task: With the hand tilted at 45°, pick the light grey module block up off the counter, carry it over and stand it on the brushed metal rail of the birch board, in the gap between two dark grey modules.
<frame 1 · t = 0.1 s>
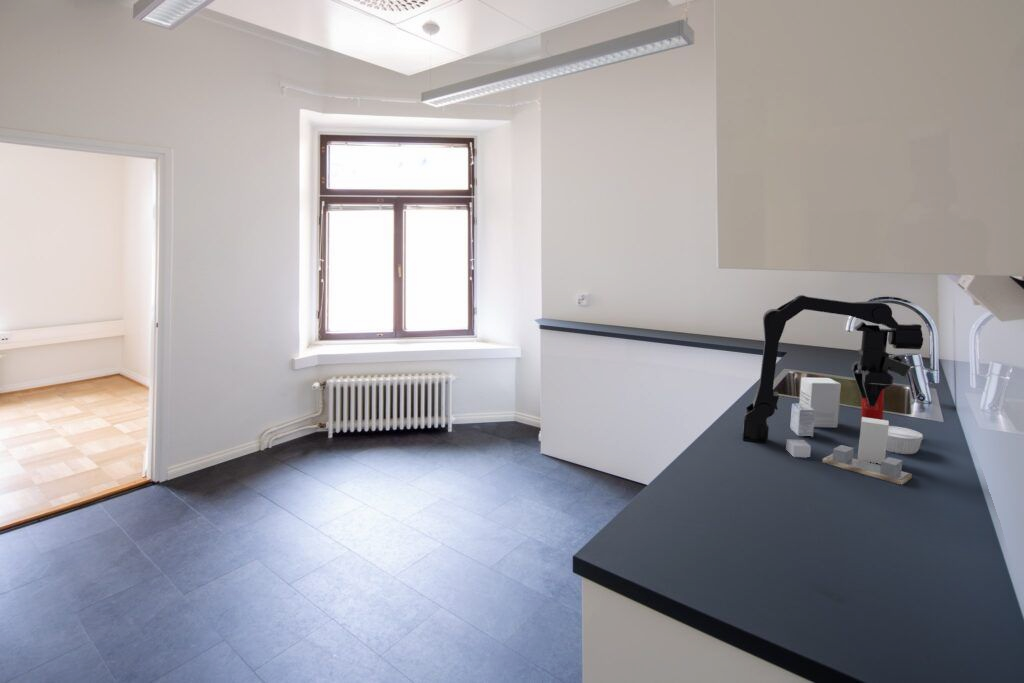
hand: (868, 402, 146), 15 cm above the table, tool pointing down, fingers open, 9 cm apart
supplement box: (816, 424, 174), on the table
beverage can: (869, 429, 168), on the table
rail board: (865, 469, 135), on the table
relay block: (797, 454, 147), on the table
metal rail: (865, 465, 135), on the rail board, point 1 cm above the table
module block: (870, 459, 142), on the table
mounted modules: (866, 459, 135), on the metal rail, point 3 cm above the table
ramekin: (896, 449, 151), on the table
medicine box: (801, 433, 165), on the table
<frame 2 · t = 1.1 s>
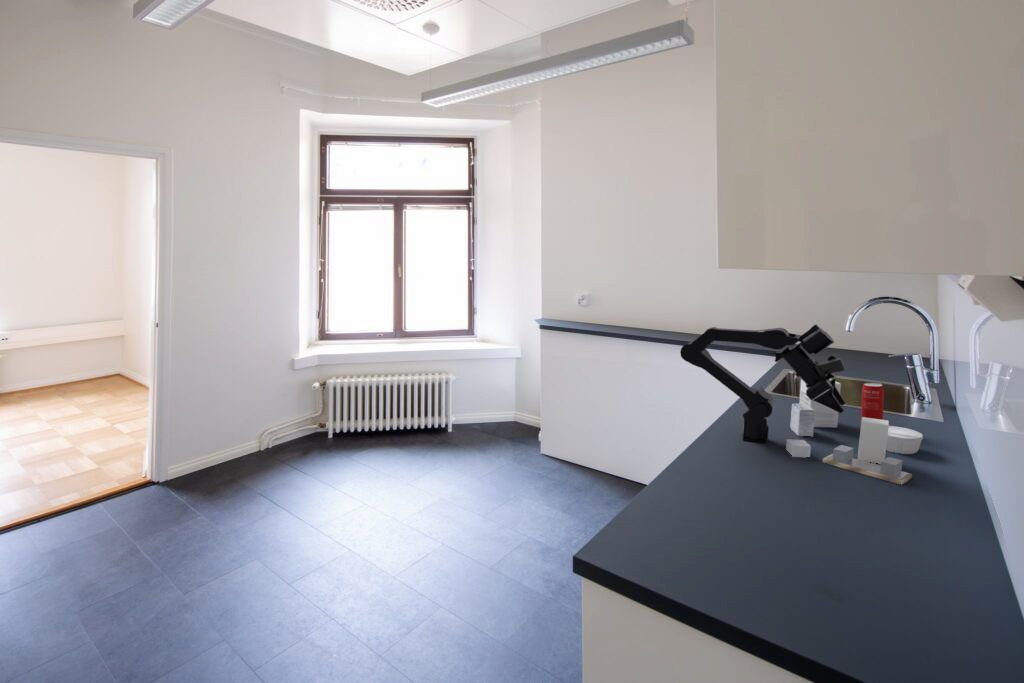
hand: (843, 408, 145), 13 cm above the table, tool tilted 45°, fingers open, 9 cm apart
nothing on the table moved.
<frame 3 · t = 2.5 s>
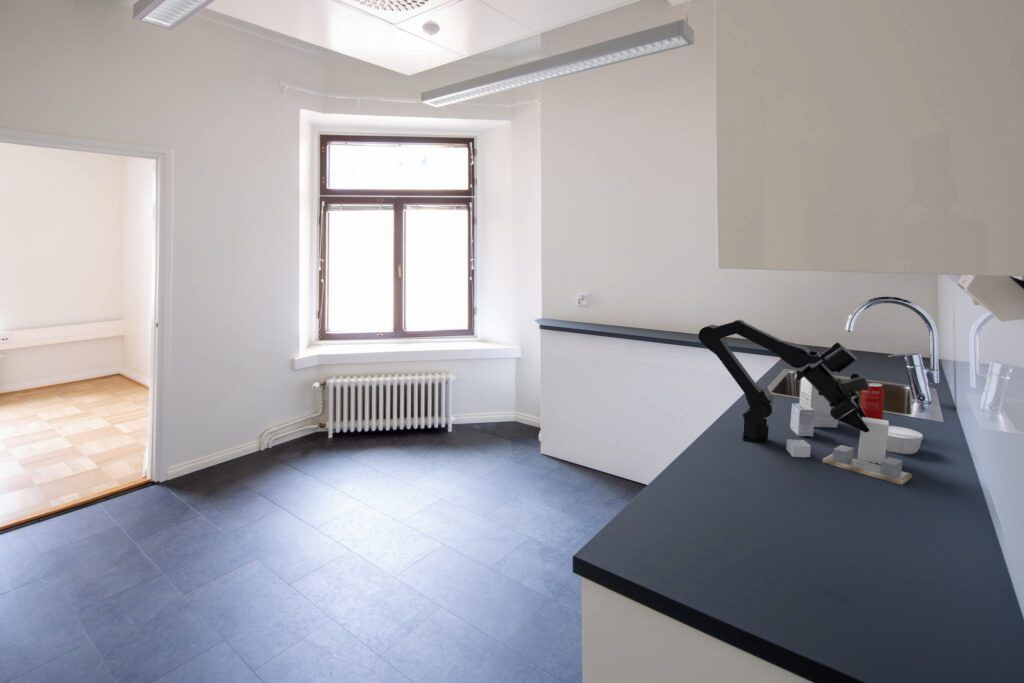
hand: (868, 427, 142), 9 cm above the table, tool tilted 45°, fingers open, 9 cm apart
nothing on the table moved.
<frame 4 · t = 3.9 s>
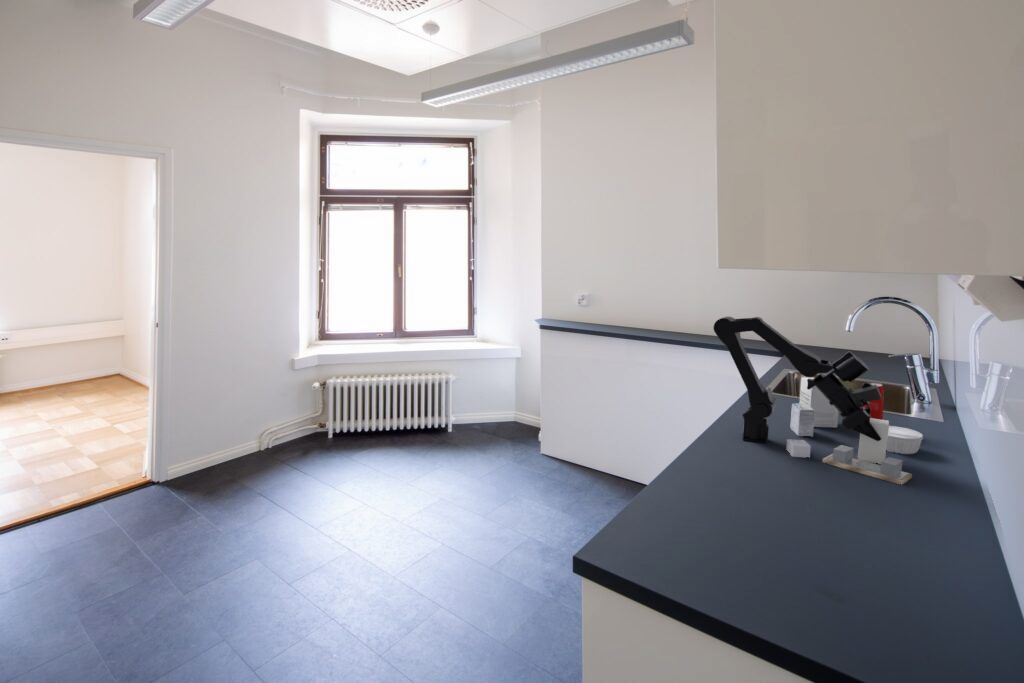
hand: (879, 437, 141), 7 cm above the table, tool tilted 45°, fingers closed on module block, 5 cm apart
module block: (870, 459, 142), on the table, touching gripper
everything else where it was.
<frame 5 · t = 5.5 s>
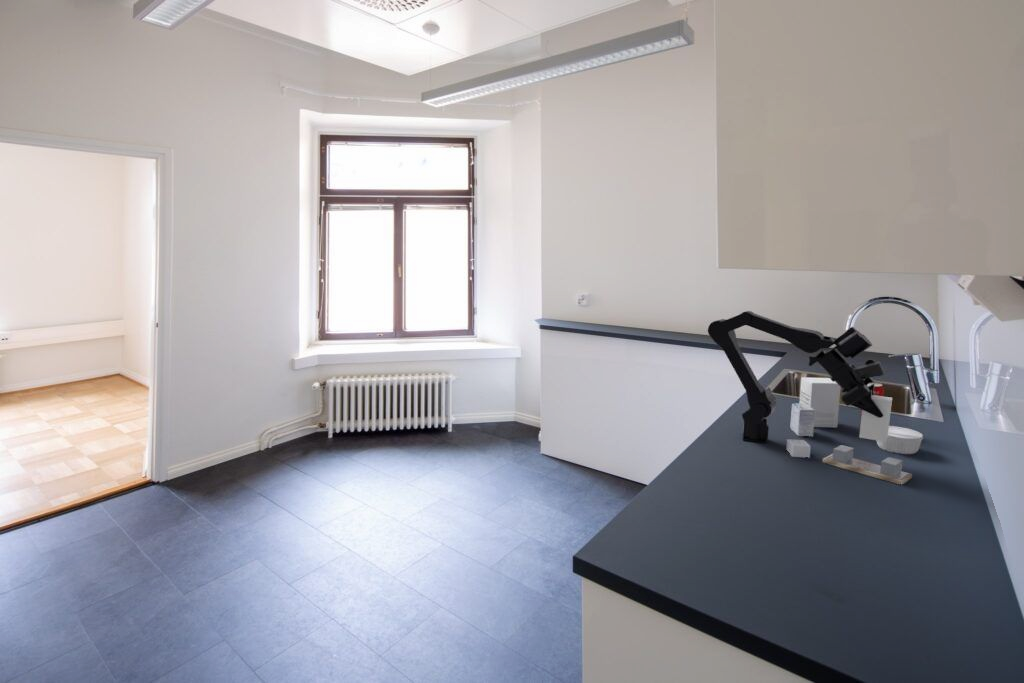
hand: (882, 414, 138), 14 cm above the table, tool tilted 45°, fingers closed on module block, 5 cm apart
module block: (873, 437, 140), point 7 cm above the table, touching gripper
everything else where it was.
when the fingers open (9 cm above the table, at t = 7.5 s): module block drops 1 cm, resting on metal rail.
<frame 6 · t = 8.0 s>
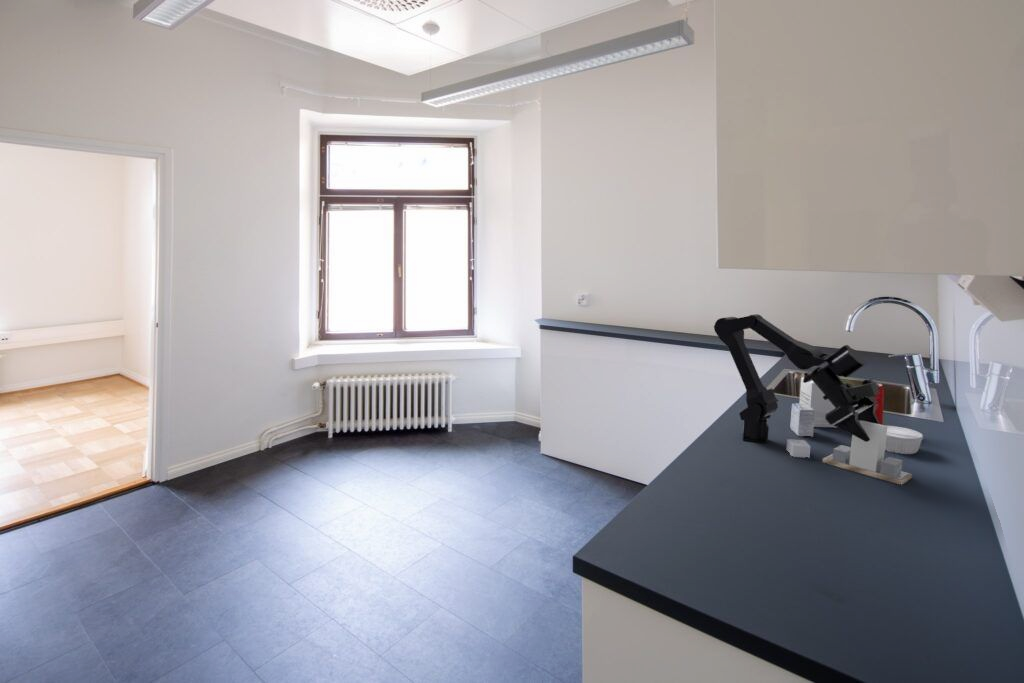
hand: (875, 437, 133), 9 cm above the table, tool tilted 45°, fingers open, 9 cm apart
module block: (865, 465, 135), point 1 cm above the table, touching metal rail
everything else where it was.
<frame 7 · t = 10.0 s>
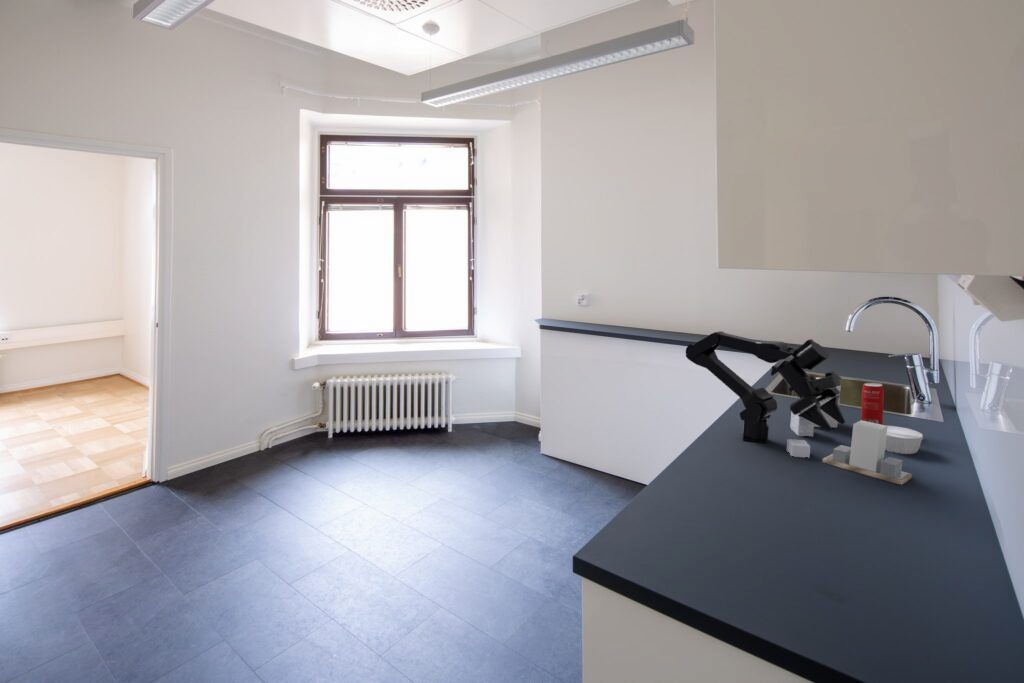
hand: (836, 426, 140), 10 cm above the table, tool tilted 45°, fingers open, 9 cm apart
nothing on the table moved.
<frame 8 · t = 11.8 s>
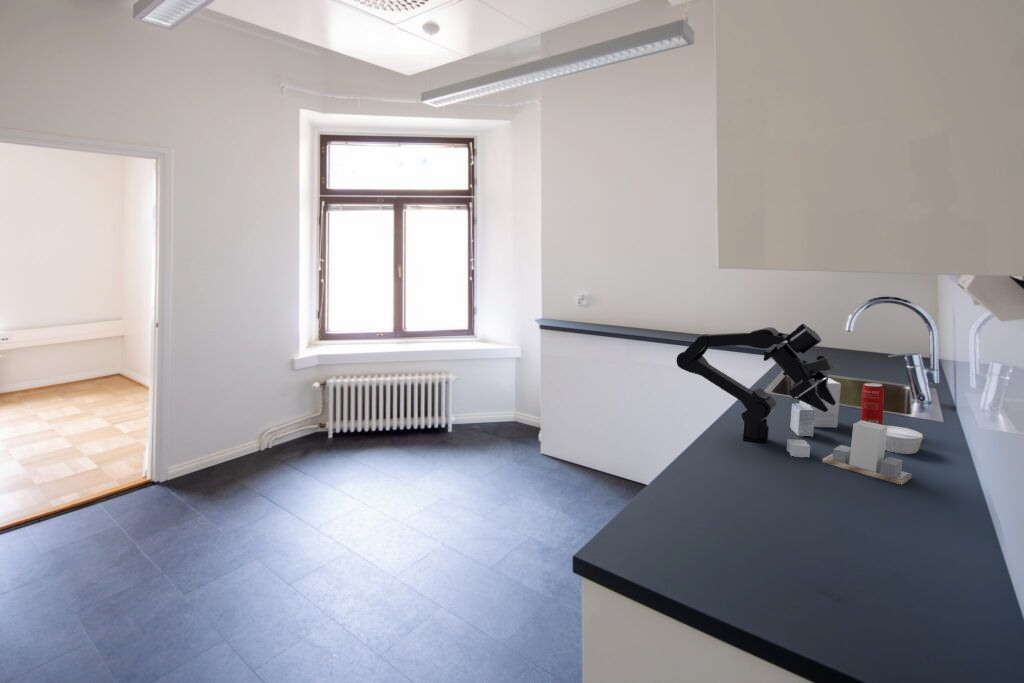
hand: (830, 407, 144), 14 cm above the table, tool tilted 45°, fingers open, 9 cm apart
nothing on the table moved.
at the end: module block 0.0 cm off-centre on the rail board, point 1.2 cm above the rail board's base; module block tilted 0°; the gripper is holding nothing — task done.
